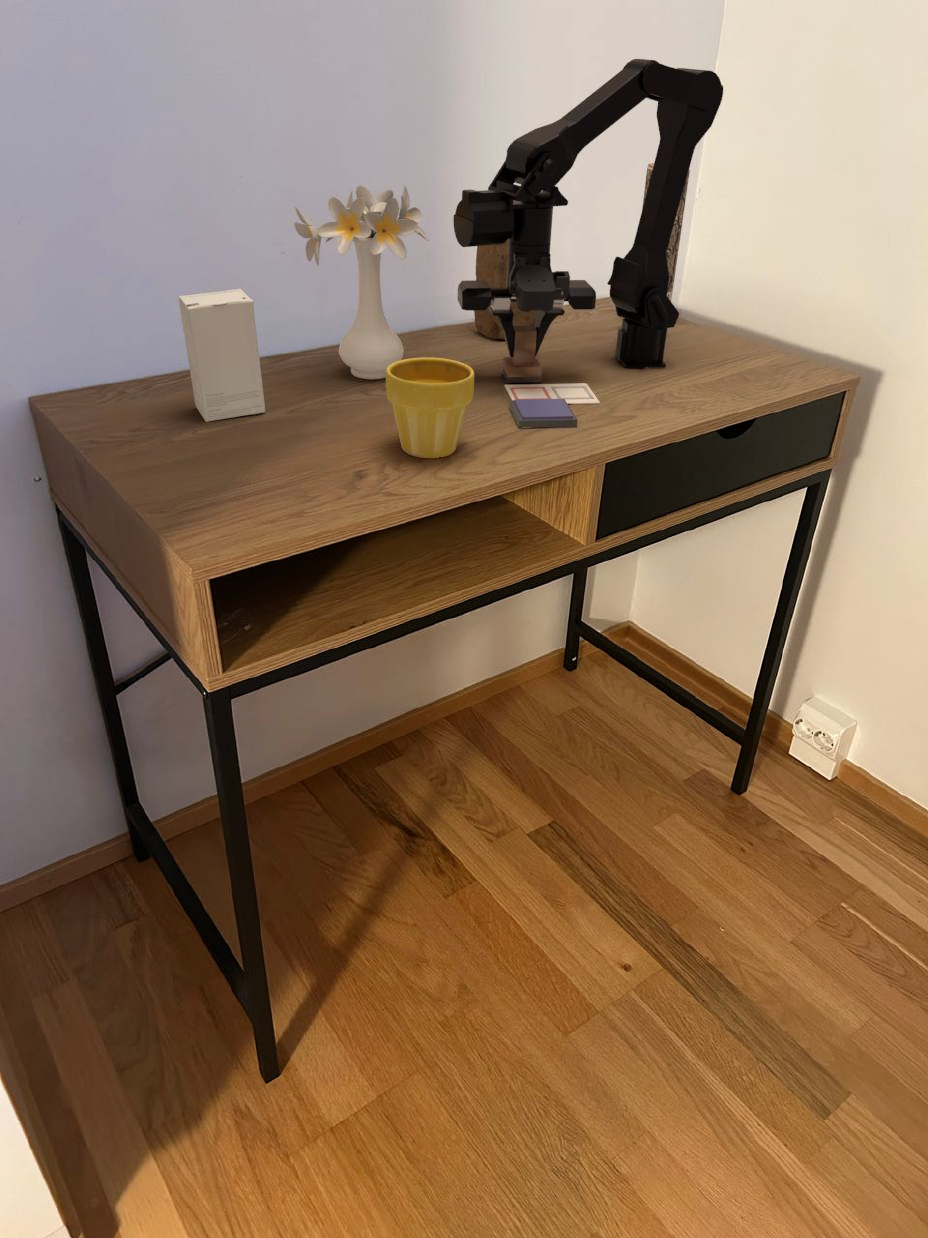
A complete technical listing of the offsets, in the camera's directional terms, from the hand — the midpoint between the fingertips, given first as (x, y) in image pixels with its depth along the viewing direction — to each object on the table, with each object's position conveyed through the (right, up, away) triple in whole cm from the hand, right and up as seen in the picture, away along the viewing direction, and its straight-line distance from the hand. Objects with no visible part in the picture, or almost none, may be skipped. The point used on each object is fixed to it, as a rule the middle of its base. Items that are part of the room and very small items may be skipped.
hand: (522, 355), depth 137 cm
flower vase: (-22, -2, +2) cm, 22 cm away
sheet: (+4, -6, -4) cm, 8 cm away
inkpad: (+2, -11, -11) cm, 16 cm away
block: (-1, +9, +21) cm, 23 cm away
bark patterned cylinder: (+24, +14, +30) cm, 40 cm away
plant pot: (-13, -17, -21) cm, 30 cm away
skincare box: (-39, -11, -12) cm, 43 cm away
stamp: (0, -3, +2) cm, 3 cm away
